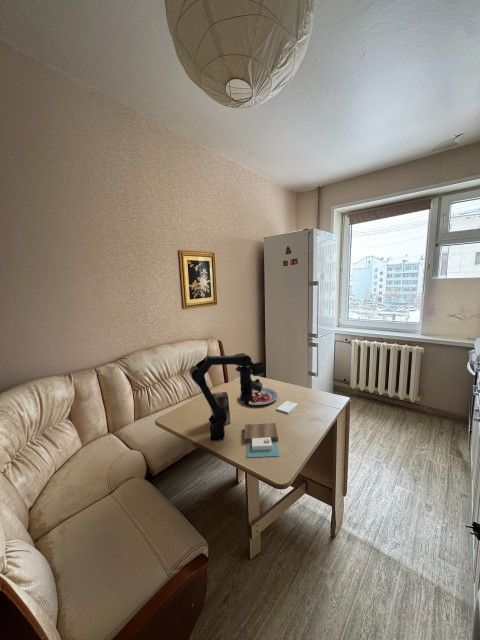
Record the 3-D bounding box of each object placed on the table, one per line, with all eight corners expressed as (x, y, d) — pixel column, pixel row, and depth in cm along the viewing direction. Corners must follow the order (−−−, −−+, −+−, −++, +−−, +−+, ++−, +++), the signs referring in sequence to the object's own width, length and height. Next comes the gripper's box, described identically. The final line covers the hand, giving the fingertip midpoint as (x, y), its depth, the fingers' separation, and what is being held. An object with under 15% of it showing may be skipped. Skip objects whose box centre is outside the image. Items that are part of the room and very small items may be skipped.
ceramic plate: (244, 410, 148) (244, 406, 147) (235, 393, 173) (235, 389, 172) (284, 403, 153) (283, 399, 153) (269, 388, 178) (269, 384, 178)
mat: (247, 457, 106) (247, 457, 106) (247, 443, 116) (247, 442, 116) (279, 456, 106) (279, 455, 106) (276, 441, 116) (276, 441, 116)
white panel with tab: (252, 450, 110) (252, 445, 110) (252, 442, 116) (251, 437, 116) (272, 449, 110) (272, 444, 110) (270, 441, 116) (270, 436, 116)
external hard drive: (276, 411, 146) (286, 402, 155) (288, 415, 140) (298, 406, 150) (276, 408, 145) (286, 400, 155) (288, 412, 140) (298, 403, 149)
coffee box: (229, 417, 141) (227, 391, 139) (230, 423, 134) (228, 396, 132) (213, 419, 139) (211, 393, 137) (214, 425, 133) (211, 398, 131)
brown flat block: (245, 442, 117) (244, 438, 116) (245, 428, 129) (244, 424, 128) (278, 441, 116) (278, 436, 116) (275, 427, 128) (275, 423, 128)
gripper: (262, 383, 116) (264, 414, 118) (259, 370, 135) (261, 397, 137) (239, 385, 117) (241, 415, 119) (239, 372, 135) (241, 398, 137)
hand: (247, 406), depth 128 cm, fingers closed
